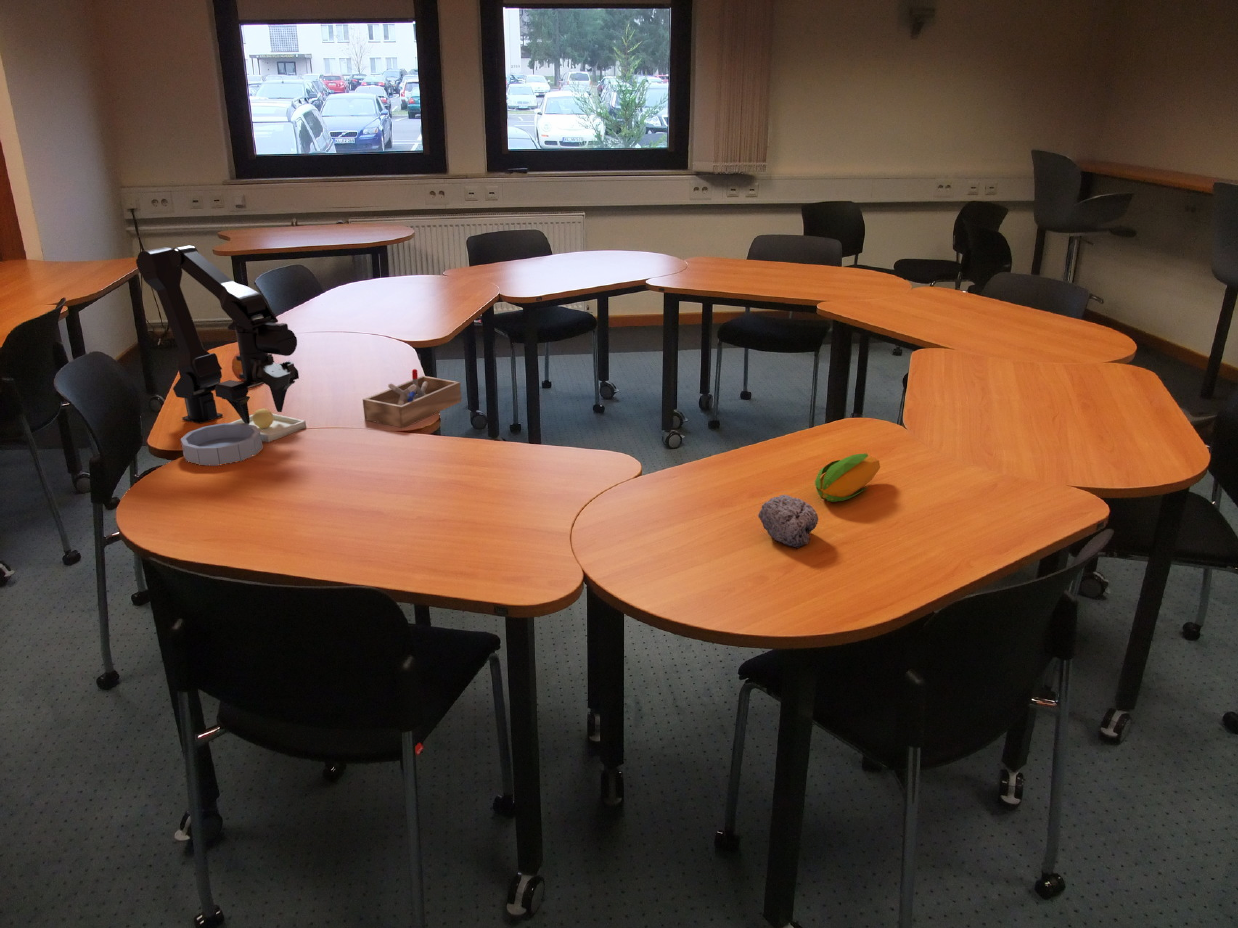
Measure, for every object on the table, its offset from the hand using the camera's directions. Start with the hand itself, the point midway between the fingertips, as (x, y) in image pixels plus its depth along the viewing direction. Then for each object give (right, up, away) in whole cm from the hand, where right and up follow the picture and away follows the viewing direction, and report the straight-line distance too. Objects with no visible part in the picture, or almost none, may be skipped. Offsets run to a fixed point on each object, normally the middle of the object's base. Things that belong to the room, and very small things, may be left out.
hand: (263, 417), depth 203 cm
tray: (0, -3, +1) cm, 3 cm away
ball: (0, 0, 0) cm, 0 cm away
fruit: (-18, +11, +36) cm, 41 cm away
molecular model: (+31, +2, +14) cm, 34 cm away
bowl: (-4, -8, -12) cm, 15 cm away
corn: (+124, -16, -30) cm, 129 cm away
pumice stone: (+109, -24, -49) cm, 122 cm away
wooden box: (+31, +2, +14) cm, 34 cm away
